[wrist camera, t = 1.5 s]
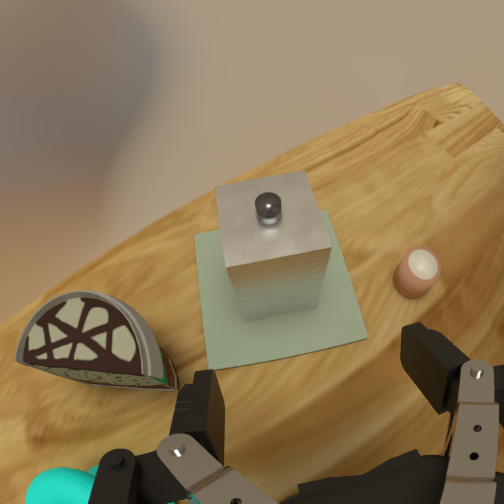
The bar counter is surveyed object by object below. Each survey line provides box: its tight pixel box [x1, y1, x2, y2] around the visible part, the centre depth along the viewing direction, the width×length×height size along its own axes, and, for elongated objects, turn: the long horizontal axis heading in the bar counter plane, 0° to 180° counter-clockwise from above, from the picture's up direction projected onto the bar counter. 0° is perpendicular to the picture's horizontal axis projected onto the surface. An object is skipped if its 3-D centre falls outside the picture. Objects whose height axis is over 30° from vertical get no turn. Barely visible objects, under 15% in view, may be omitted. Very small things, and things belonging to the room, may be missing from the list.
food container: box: [14, 291, 179, 391], centre depth 23 cm, size 12×6×10 cm, turn 92°
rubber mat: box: [194, 210, 368, 370], centre depth 29 cm, size 14×14×1 cm
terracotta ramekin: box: [393, 246, 441, 299], centre depth 27 cm, size 4×4×4 cm
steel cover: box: [215, 171, 332, 322], centre depth 24 cm, size 6×6×12 cm
